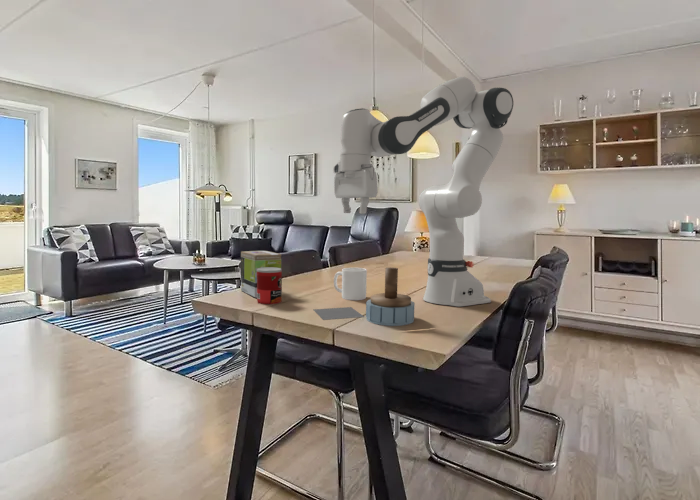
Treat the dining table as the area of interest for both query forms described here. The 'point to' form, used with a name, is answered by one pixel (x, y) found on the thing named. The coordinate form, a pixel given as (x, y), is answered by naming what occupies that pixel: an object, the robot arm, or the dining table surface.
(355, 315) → the mat
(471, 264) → the robot arm
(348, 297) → the cup
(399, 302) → the lid
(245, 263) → the tea box
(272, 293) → the canned food
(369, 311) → the grey ridged ring
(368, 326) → the dining table surface
